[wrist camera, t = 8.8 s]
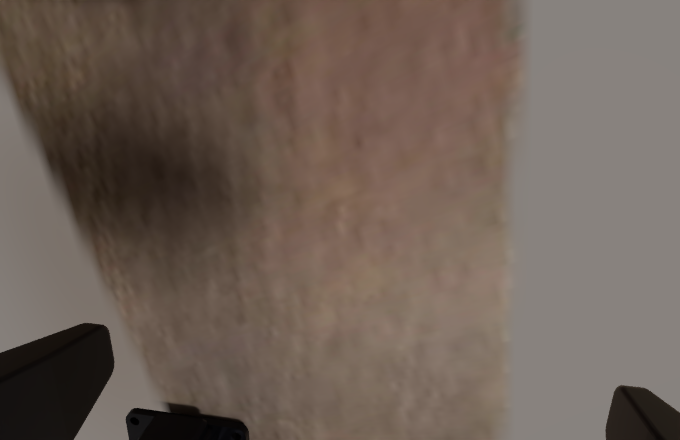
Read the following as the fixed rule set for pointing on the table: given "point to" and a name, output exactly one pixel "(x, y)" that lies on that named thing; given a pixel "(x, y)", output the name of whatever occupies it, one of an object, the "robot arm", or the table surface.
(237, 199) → the table surface
